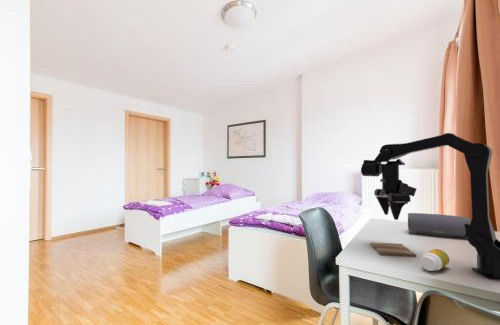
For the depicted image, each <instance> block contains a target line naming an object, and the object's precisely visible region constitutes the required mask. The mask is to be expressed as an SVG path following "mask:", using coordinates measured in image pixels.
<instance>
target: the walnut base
mask: <svg viewBox="0 0 500 325" xmlns="http://www.w3.org/2000/svg"><path fill="white" fill-rule="evenodd" d="M369 245H370V247H372V248H373V249H374V251H375V252H376V253H377V254H379V256H385V257H404V258H406V257H407V258H417V253H415V252H414V251H412V250H410V249H409V248H408V247H406V246H405V245H403V244H402V243H386V242H385V243H384V242H370V243H369Z"/></svg>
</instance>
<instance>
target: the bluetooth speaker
mask: <svg viewBox="0 0 500 325" xmlns="http://www.w3.org/2000/svg"><path fill="white" fill-rule="evenodd" d="M468 221H471V219H470V218H469V217H465V216H457V215H451V214H449V215H447V214H438V213H425V212H424V213H422V212H421V213H419V212H409V213H407V229H408V231H411V232H416V233H422V234H423V235H425V236H432V237H440V238H441V237H442V238H443V237H444V238H453V237H464V238H466V237H465V235H466V229H465V225H464V224H465V223H466V222H468Z"/></svg>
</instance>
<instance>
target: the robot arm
mask: <svg viewBox="0 0 500 325" xmlns="http://www.w3.org/2000/svg"><path fill="white" fill-rule="evenodd" d="M446 146H448V147H450V148H452V149H454V150H456V151H458V152H460V153H462V154H463V156H464V158H465V163H466V165H467V168H468V171H469V173H470V196H471V219H470V221H468V222H466V223H465V224H464V225H465V229H466V235H465V237H464V238H467V241H468V243H469V245H471V246H472V247H473V248H474V249H475V250H476V252H477V254H476V267H471V270H473V271H474V272H476V273H478V274H479V275H481V276H483V277H485V278H487V279H493V280H494V279H495V280H496V279H497V280H500V240H499V239H498V238H497V236H496V233H495V229H494V226H493V223H492V221H491V218H490V200H489V178H488V177H489V175H488V172H489V169H490V165H491V162H492V155H493V150H492V148H491V147H490V146H488V145H487V144H484V143H481V142H475V143H473V142H472V141H469V140H466V139H464V138H462V137H460V136H457V135H456V134H455V133H452V132H446V133H443V134H439V135H436V136H431V137H427V138H423V139H420V140H418V139H417V140H414V141H411V142H406V143H391V144H384V145H383V146H381V148H380V149H379V153H378V154H377V156H376V157H375V158H374V159H371V160H369V159H363V163H362V164H361V167H360V173H361V175H362V176H364V177H380V175H381V178H380V180H379V181H380V183H381V184H382V185H381V188H375V190H374V196H375V198H376V200H377V201H378V204H379V205H380V208H381V210H382V211H383V213H384V215H385V216H387V215H389V211H390V212H391V214H392V217H393V219H394V220H395V221H398V220H399V217H400V214H401V211H402V209H403V207H404V206H405V205H408V204H409V203H410V202H411V197H415V195H416V191H417V188H416V187H413V186H410V185H409V184H407V183H405V182H403V181H402V179H400V167H399V166H405V165H406V163H405V162H404V161H403V160H402V159H400V158H402V157H405V156H407V155H409V154H412V153H417V152H423V151H427V150H433V149H436V148H442V147H446Z"/></svg>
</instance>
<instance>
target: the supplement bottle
mask: <svg viewBox="0 0 500 325" xmlns="http://www.w3.org/2000/svg"><path fill="white" fill-rule="evenodd" d="M449 263H450V257H449V254H448V253H447V252H446V251H445V250H443V249H440V248H433V249H431V250H429V251H428V252H426V253H424V254H422V257H421V259H420V264H421V267H422V268H423V269H425V270H427V271H431V272H432V271H433V272H436V271H440V270H442V269H443V268H444V267H446V266H447V265H449Z"/></svg>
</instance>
